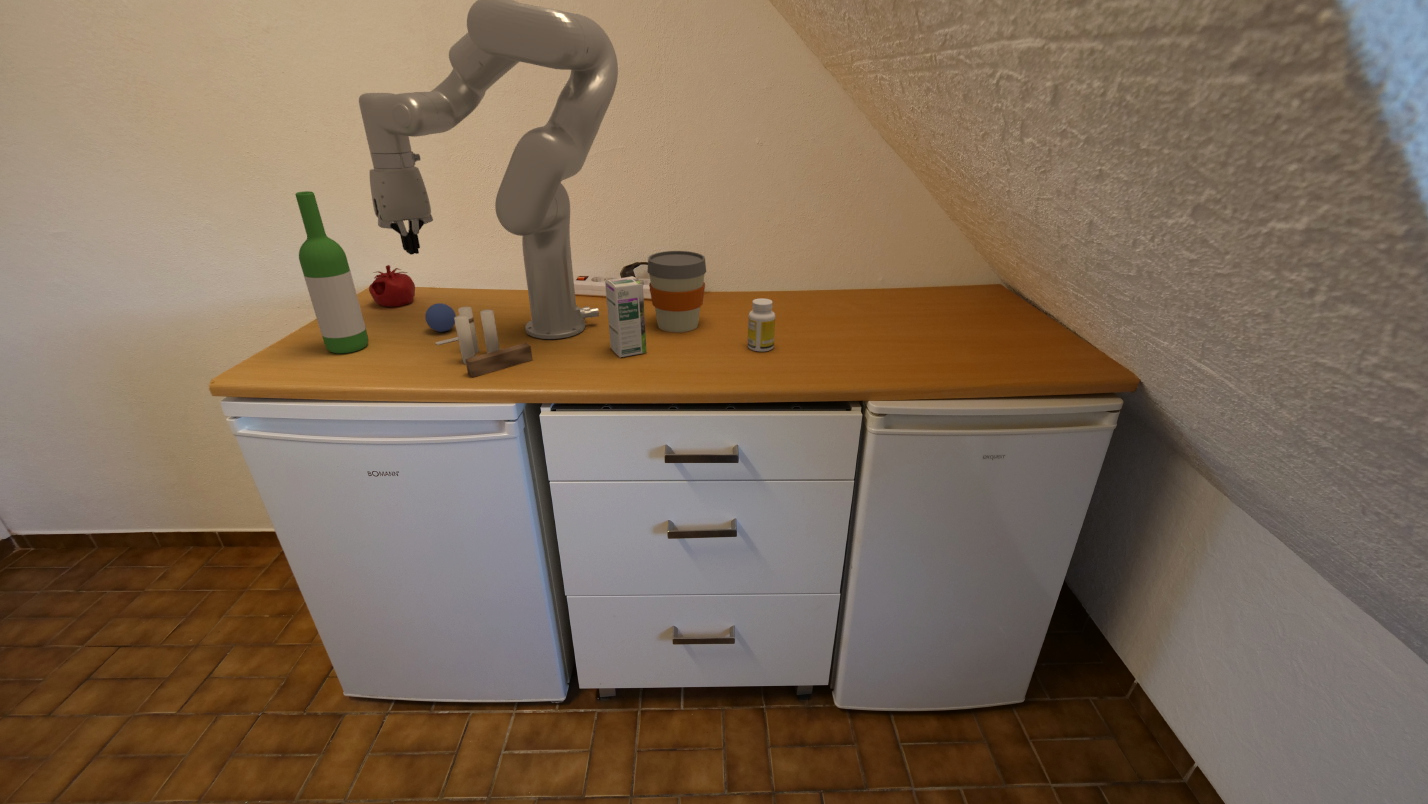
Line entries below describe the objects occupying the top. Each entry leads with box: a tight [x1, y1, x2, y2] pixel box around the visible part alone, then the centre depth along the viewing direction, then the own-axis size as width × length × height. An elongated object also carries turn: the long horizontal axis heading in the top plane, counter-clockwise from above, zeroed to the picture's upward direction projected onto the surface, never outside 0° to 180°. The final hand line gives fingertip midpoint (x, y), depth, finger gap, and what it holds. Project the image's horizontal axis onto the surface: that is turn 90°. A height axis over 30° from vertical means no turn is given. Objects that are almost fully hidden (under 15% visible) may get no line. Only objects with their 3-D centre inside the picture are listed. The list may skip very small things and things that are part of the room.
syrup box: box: [604, 276, 647, 359], centre depth 122 cm, size 6×6×14 cm
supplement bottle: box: [747, 298, 776, 353], centre depth 126 cm, size 5×5×10 cm
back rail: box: [465, 342, 534, 379], centre depth 118 cm, size 12×2×3 cm, turn 132°
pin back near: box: [479, 308, 501, 353], centre depth 121 cm, size 2×2×9 cm
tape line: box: [435, 336, 459, 346], centre depth 130 cm, size 8×1×1 cm, turn 132°
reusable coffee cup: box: [647, 250, 707, 333], centre depth 135 cm, size 12×13×15 cm
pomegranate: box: [368, 264, 416, 308], centre depth 148 cm, size 10×10×9 cm
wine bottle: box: [294, 190, 369, 354], centre depth 119 cm, size 8×8×30 cm
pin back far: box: [454, 315, 476, 365], centre depth 118 cm, size 2×2×9 cm
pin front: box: [457, 306, 480, 354], centre depth 122 cm, size 2×2×9 cm
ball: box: [424, 302, 457, 333], centre depth 133 cm, size 6×6×6 cm
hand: (412, 252), depth 134 cm, fingers closed
